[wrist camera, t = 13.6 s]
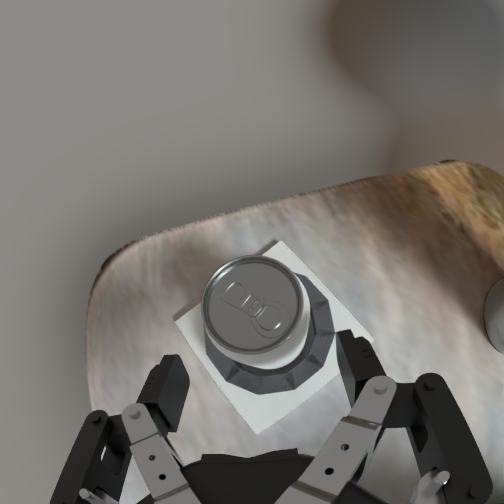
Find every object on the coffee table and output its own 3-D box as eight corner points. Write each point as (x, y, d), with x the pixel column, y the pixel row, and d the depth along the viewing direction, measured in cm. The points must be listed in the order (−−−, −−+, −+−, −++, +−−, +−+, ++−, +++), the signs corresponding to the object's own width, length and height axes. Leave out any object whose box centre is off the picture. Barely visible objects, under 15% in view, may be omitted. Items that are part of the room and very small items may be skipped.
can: (277, 383, 23) (260, 388, 13) (224, 342, 26) (171, 312, 15) (319, 328, 25) (335, 287, 14) (265, 290, 28) (242, 228, 17)
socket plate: (281, 244, 31) (281, 240, 30) (371, 341, 24) (374, 339, 24) (178, 323, 28) (174, 321, 28) (258, 432, 22) (256, 434, 21)
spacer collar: (279, 258, 29) (277, 245, 26) (353, 339, 24) (359, 334, 21) (193, 324, 27) (181, 318, 24) (259, 414, 22) (254, 418, 20)
